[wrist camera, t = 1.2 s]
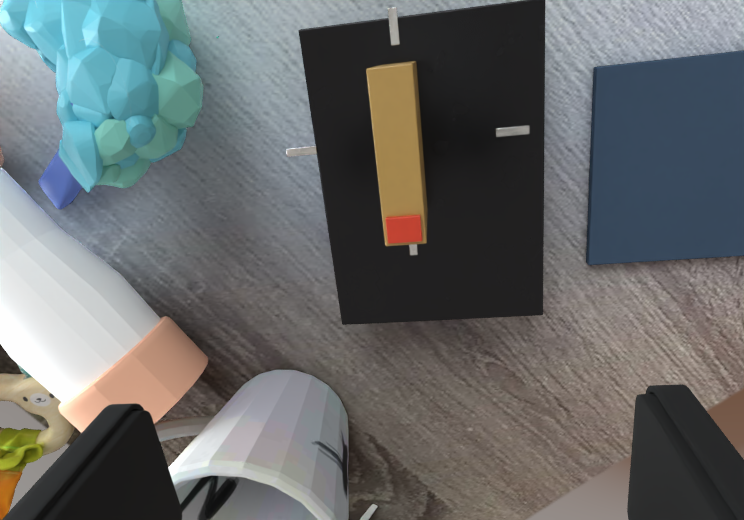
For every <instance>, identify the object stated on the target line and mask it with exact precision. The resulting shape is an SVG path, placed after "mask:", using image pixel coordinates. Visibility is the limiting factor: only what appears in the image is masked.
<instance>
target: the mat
mask: <svg viewBox="0 0 744 520" xmlns="http://www.w3.org/2000/svg"><path fill="white" fill-rule="evenodd" d="M731 256H744V51H735V52H726V53H717V54H708V55H699V56H690V57H681V58H672V59H663V60H654V61H645V62H636V63H627V64H618V65H608V66H599V67H594V72H593V98H592V123H591V149H590V174H589V200H588V225H587V251H586V262H587V264H588V265H598V264H615V263H632V262H648V261H665V260H681V259H698V258H715V257H731Z"/></svg>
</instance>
